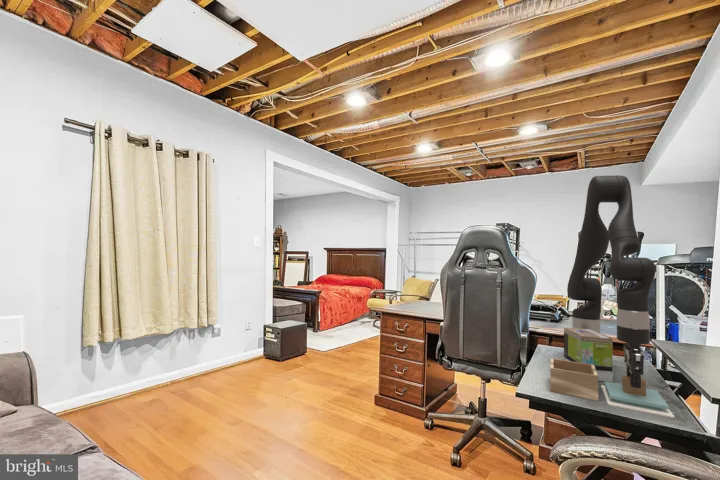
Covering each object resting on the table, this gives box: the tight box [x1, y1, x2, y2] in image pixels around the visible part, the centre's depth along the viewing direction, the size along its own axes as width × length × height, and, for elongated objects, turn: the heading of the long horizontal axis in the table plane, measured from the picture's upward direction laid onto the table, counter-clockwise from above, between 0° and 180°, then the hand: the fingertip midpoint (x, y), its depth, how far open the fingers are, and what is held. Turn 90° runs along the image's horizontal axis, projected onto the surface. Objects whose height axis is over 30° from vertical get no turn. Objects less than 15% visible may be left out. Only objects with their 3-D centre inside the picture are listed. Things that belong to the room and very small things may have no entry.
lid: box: [604, 375, 670, 410], centre depth 97 cm, size 13×13×6 cm
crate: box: [550, 358, 599, 401], centre depth 104 cm, size 12×12×7 cm
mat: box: [600, 384, 676, 419], centre depth 97 cm, size 16×14×1 cm
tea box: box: [563, 327, 614, 383], centre depth 119 cm, size 15×10×15 cm
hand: (633, 383), depth 97 cm, fingers open, 5 cm apart
